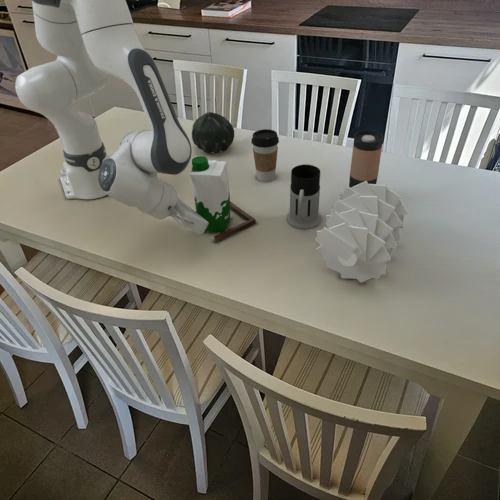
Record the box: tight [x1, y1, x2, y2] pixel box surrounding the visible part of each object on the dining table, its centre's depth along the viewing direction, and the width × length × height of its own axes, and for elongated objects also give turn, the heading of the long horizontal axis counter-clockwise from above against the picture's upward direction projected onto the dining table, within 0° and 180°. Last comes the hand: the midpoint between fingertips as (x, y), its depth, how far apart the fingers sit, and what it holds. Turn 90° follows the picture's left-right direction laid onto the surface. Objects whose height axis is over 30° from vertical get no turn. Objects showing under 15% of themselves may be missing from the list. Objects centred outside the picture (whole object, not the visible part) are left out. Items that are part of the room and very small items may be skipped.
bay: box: [213, 201, 257, 243], centre depth 125 cm, size 14×13×2 cm
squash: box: [191, 111, 235, 155], centre depth 157 cm, size 14×15×15 cm
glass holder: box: [287, 164, 321, 229], centre depth 118 cm, size 9×14×15 cm, turn 167°
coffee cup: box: [250, 128, 280, 183], centre depth 139 cm, size 8×8×15 cm
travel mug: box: [348, 130, 384, 188], centre depth 125 cm, size 8×8×20 cm
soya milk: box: [189, 155, 232, 234], centre depth 118 cm, size 9×9×20 cm
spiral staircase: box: [314, 181, 409, 284], centre depth 106 cm, size 18×18×25 cm
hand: (198, 218), depth 119 cm, fingers closed, pressing on soya milk
